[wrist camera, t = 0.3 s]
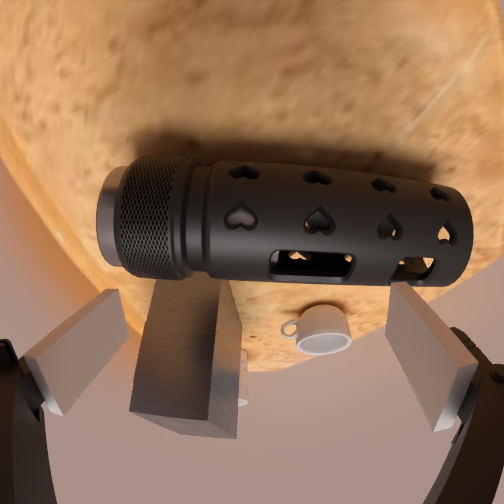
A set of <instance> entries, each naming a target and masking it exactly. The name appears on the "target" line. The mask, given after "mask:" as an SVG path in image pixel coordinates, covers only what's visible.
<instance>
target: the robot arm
mask: <svg viewBox="0 0 504 504" xmlns="http://www.w3.org/2000/svg"><path fill="white" fill-rule="evenodd" d="M385 336H386V338H387V340H388V341H389V343H390V345H391V347H392V349H393V351H394V353H395V355H396V357H397V359H398V360H399V362H400V364H401V366H402V368H403V370H404V372H405V374H406V376H407V378H408V380H409V382H410V384H411V386H412V388H413V390H414V392H415V395H416V397H417V399H418V401H419V403H420V405H421V407H422V409H423V412H424V414H425V416H426V418H427V420H428V422H429V425H430V427H431V429H432V431H433V432H436V431H439V430H443V429H447V428H450V427H452V425H453V423H454V421H455V419H456V417H457V415H458V416H459V418H460V419H461V422H462V423H461V425H460V427H459V429H458V431H457V433H456V435H455V437H454V439H453V440H452V442H451V443H452V446H451V449H450V451H449V453H448V456H447V458H446V460H445V462H444V464H443V467H442V469H441V471H440V473H439V475H438V477H437V479H436V481H435V483H434V484H433V486H432V488H431V490H430V492H429V494H428V495H427V497H426V499H425V501H424V503H423V504H492V502H493V499H494V496H495V493H496V490H497V487H498V484H499V481H500V478H501V474H502V470H503V466H504V365H502V364H492V363H491V362H490V361H489V360H488V358H487V357H486V356H485V355H484V354H483V353H482V352H481V350H480V349H479V348H478V347H476V345H475V344H474V342H473V341H471V339H470V338H469V337H468V336H467V335H466V334H465V333H464V332H463V331H461V330H459V329H457V328H455V327H451V328H449V327H448V326H447V325H446V324H445V323H444V322H443V321H442V319H441V318H440V317H439V316H438V315H437V314H436V313H435V312H434V311H433V310H432V309H431V307H430V306H429V305H428V304H427V303H426V302H425V301H424V300H423V299H422V298H421V297H420V296H419V295H418V294H417V292H416V291H415V290H414V289H413V288H412V287H411V286H410V285H409V284H408V283H407V282H393V283H391V290H390V299H389V308H388V316H387V324H386V331H385ZM129 337H130V335H129V332H128V328H127V324H126V320H125V316H124V312H123V307H122V303H121V299H120V294H119V290H118V289H105V290H104V291H103V292H101V293H100V294H99V295H98V296H96V297H95V298H94V299H92V300H91V301H90V302H88V303H87V304H86V305H84V306H83V307H82V308H81V309H79V310H78V311H77V312H75V313H74V314H73V315H72V316H70V317H69V318H68V319H67V320H65V321H64V322H63V323H62V324H60V325H59V326H58V327H57V328H55V329H54V330H53V331H52V332H50V333H49V334H48V335H47V336H45V337H44V338H43V339H42V340H41V341H39V342H38V343H37V344H36V345H35V346H33V347H32V348H31V349H30V350H29V351H27V352H26V353H25V354H24V355H23V356H22V357H21V358H20V359H19V360H18V358H17V356H16V353H15V351H14V349H13V346H12V344H11V341H9V340H8V339H0V504H57V501H56V497H55V492H54V487H53V482H52V477H51V471H50V465H49V458H48V450H47V442H46V432H45V421H44V411H43V409H42V407H41V404H42V403H43V402H44V401H45V402H46V404H47V406H48V408H49V410H50V411H51V412H53V413H55V414H58V415H61V416H65V414H66V413H67V412H68V411H69V409H70V408H71V407H72V406H73V404H74V403H75V402H76V401H77V399H78V398H79V397H80V396H81V394H82V393H83V392H84V390H85V389H86V388H87V387H88V386H89V385H90V383H91V382H92V381H93V380H94V378H95V377H96V376H97V374H99V372H100V371H101V370H102V369H103V367H104V366H105V365H106V364H107V363H108V361H109V360H110V359H111V358H112V357H113V356H114V354H115V353H116V352H117V351H118V350H119V348H120V347H121V346H122V345H123V344H124V343H125V341H126V340H127V339H128V338H129Z"/></svg>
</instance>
